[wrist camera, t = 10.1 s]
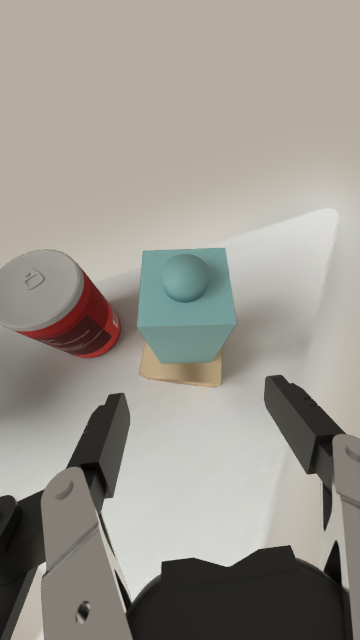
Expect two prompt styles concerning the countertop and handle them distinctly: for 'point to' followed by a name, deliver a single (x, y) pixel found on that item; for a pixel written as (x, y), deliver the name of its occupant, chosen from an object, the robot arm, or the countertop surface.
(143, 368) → the wooden block
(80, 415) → the countertop surface
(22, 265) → the canned food
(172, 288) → the teal brick
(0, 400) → the countertop surface
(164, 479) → the countertop surface
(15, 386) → the countertop surface
